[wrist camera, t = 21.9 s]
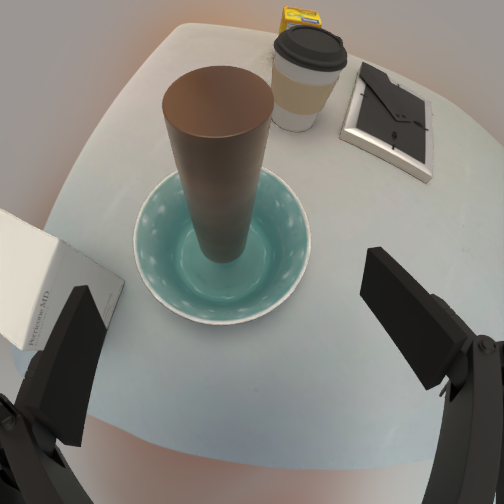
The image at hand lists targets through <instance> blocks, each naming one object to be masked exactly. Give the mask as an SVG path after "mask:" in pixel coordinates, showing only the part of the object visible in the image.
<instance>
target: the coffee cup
mask: <svg viewBox="0 0 504 504" xmlns="http://www.w3.org/2000/svg"><path fill="white" fill-rule="evenodd" d="M274 48H275V55H274V57H273V67H272V84H271V90H272V92H273V95H274V109H273V114H272V120H273V121H274V122H275V123H276V124H277V125H278V126H280V127H281V128H283V129H285V130H288V131H293V132H301V131H305V130H308V129H309V128H310V127H311V126H312V125H313V123H314V121H315V119H316V118H317V116H318V114H319V112H320V110H321V109H322V108H323V106H324V104H325V102H326V101H327V99H328V97H329V95H330V93H331V92H332V90H333V88H334V86H335V84H336V83H337V81H338V79H339V75H340V72H341V71H342V69H343V68H345V66H346V65H347V52H346V50H345V48H344V47H343V42H342V39H341V38H340V37H338V36H335V35H333V34H332V33H330V32H328V31H326V30H324V29H322V28H319V27H315V26H310V25H296V26H292V27H290V28H289V29H287V30H285V31H283V32H281V33H280V34H279V36H278V38H277V39H276V40H275V41H274Z"/></svg>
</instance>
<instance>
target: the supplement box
mask: <svg viewBox="0 0 504 504" xmlns="http://www.w3.org/2000/svg"><path fill="white" fill-rule="evenodd" d="M296 25H310V26H315V27H319V28H321V26H322V24H321V21H320V18H319V15H318V13H317V12H316V11H311V10H305V9H299V8H294V7H287V6H284V8H283V13H282V19H281V25H280V30H279V34H280V33H281V32H283V31H285V30H287V29H289V28H290V27H292V26H296Z"/></svg>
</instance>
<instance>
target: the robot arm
mask: <svg viewBox="0 0 504 504" xmlns="http://www.w3.org/2000/svg"><path fill="white" fill-rule="evenodd" d="M360 296H361V297H362V298H363V300H364V301H365V302H366V304H367V305H368V307H369V308H370V309H371V311H372V312H373V313H374V315H375V316H376V318H377V319H378V320H379V322H380V323H381V324H382V326H383V327H384V329H385V330H386V332H387V333H388V334H389V336H390V337H391V339H392V340H393V341H394V343H395V344H396V346H397V347H398V349H399V350H400V352H401V353H402V355H403V356H404V357H405V359H406V360H407V362H408V363H409V365H410V366H411V368H412V369H413V371H414V372H415V374H416V375H417V377H418V378H419V380H420V382H421V383H422V385H423V386H424V388H425V389H426V391H427V390H429V389H431V388H433V387H435V386H437V385H439V384H440V383H441V382H442V380H443V378H444V377H445V375H447V377H448V378H449V381H448V382H447V384H446V385H445V387H444V388H443V390H442V391H441V392H440V395H439V396H440V397H442V395H443V394H444V392H445V391H446V396H445V404H444V411H443V418H442V424H441V430H440V435H439V440H438V445H437V450H436V454H435V459H434V463H433V467H432V471H431V475H430V478H429V482H428V485H427V488H426V492H425V495H424V498H423V501H422V504H493V501H494V497H495V492H496V504H504V341H499V342H495V341H494V340H493V339H492V338H490V337H488V336H486V335H478V336H476V335H475V334H474V332H473V331H472V330H471V329H470V328H469V327H468V326H467V325H466V323H465V322H464V321H463V320H462V319H461V318H460V317H459V316H458V315H457V314H455V312H454V311H453V309H452V308H451V309H450V306H449V305H448V304H447V303H446V302H445V301H444V300H443V299H441V298H440V297H438V296H436V295H435V294H429V293H428V292H427V291H426V290H425V289H424V288H423V287H422V286H421V285H420V284H419V283H418V282H417V281H416V280H415V279H414V278H413V277H412V276H411V275H410V274H409V273H408V272H407V271H406V270H405V269H404V268H403V267H402V266H401V265H400V264H399V263H398V262H397V261H395V260H394V259H393V258H392V257H391V256H390V255H389V254H388V253H387V252H386V251H385V250H384V249H383V248H382V247H374V248H368V249H367V256H366V262H365V268H364V274H363V279H362V285H361V290H360ZM106 331H107V328H106V326H105V324H104V322H103V320H102V317H101V315H100V313H99V311H98V308H97V306H96V304H95V301H94V299H93V297H92V294H91V292H90V289H89V287H88V285H82V286H74V288H73V290H72V292H71V293H70V295H69V297H68V299H67V301H66V303H65V305H64V307H63V309H62V311H61V313H60V315H59V317H58V319H57V321H56V323H55V325H54V328H53V330H52V332H51V334H50V336H49V338H48V341H47V343H46V345H45V348H44V350H39V351H38V352H37V353H36V354H35V356H34V357H33V358H32V359H31V362H30V364H29V367H28V371H26V374H25V376H24V377H25V379H23V382H22V384H21V387H20V390H19V392H18V395H17V398H16V401H15V404H14V405H13V404H12V403H11V402H10V401H9V400H8V398H7V397H6V396H5V395H3V394H1V393H0V504H94V503H93V502H92V501H91V499H90V498H89V496H88V495H87V493H86V492H85V490H84V489H83V487H82V486H81V485H80V483H79V481H78V480H77V478H76V477H75V475H74V473H73V472H72V470H71V468H70V467H69V465H68V463H67V462H66V460H65V458H64V456H63V454H62V453H61V451H60V449H59V448H58V447H57V445H56V444H55V443H56V438H57V439H59V440H60V441H61V442H62V443H63V444H64V445H70V446H76V447H81V442H82V435H83V429H84V424H85V418H86V413H87V408H88V403H89V398H90V393H91V389H92V385H93V380H94V376H95V372H96V368H97V364H98V360H99V356H100V353H101V349H102V345H103V342H104V338H105V335H106Z"/></svg>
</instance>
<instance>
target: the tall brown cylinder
mask: <svg viewBox="0 0 504 504" xmlns="http://www.w3.org/2000/svg"><path fill="white" fill-rule="evenodd" d="M162 109H163V114H164V118H165V122H166V127H167V131H168V135H169V139H170V143H171V147H172V151H173V154H174V158H175V162H176V166H177V170H178V173H179V177H180V181H181V184H182V188H183V192H184V195H185V199H186V202H187V206H188V209H189V213H190V216H191V220H192V223H193V227H194V230H195V233H196V237H197V240H198V243H199V247H200V249H201V251H202V253H203V254H204V256H205V257H206V258H208V259H209V260H211V261H213V262H215V263H229V262H232V261H234V260H236V259H237V258H239V257H240V256H241V254H242V253H243V251H244V249H245V246H246V242H247V237H248V232H249V227H250V222H251V217H252V212H253V207H254V202H255V197H256V192H257V187H258V182H259V177H260V172H261V167H262V162H263V157H264V153H265V148H266V143H267V138H268V133H269V128H270V123H271V119H272V114H273V109H274V95H273V92H272V90H271V88H270V87H269V85H268V84H267V83H266V82H265V81H264V80H263V79H262V78H260V77H259V76H258V75H256V74H254V73H252V72H250V71H247V70H245V69H241V68H237V67H232V66H210V67H204V68H200V69H197V70H194V71H191V72H189V73H187V74H185V75H183V76H181V77H180V78H178V79H177V80H176V81H175V82H174V83H172V85H171V86H170V87H169V88H168V90H167V91H166V93H165V95H164V98H163V102H162Z"/></svg>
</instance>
